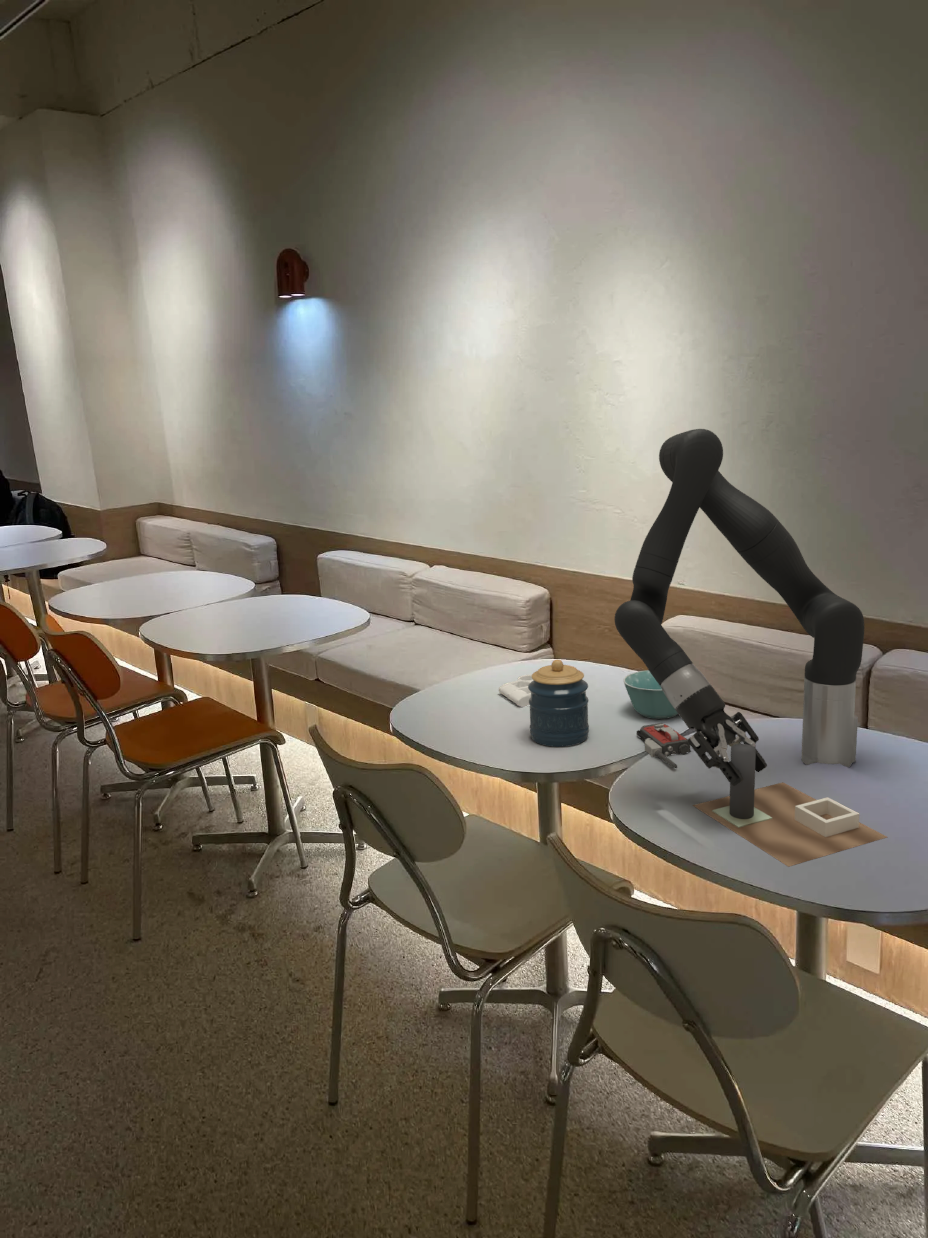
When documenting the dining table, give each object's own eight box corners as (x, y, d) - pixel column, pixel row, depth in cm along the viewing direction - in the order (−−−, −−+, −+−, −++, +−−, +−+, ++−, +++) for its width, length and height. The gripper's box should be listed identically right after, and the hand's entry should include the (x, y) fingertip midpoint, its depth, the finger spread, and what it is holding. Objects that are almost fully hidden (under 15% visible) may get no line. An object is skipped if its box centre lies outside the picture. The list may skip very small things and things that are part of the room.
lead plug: (743, 806, 156) (745, 742, 154) (758, 816, 153) (760, 750, 150) (724, 811, 155) (725, 746, 152) (739, 821, 151) (741, 754, 148)
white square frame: (827, 810, 154) (827, 797, 153) (858, 827, 147) (859, 813, 147) (794, 819, 151) (795, 806, 151) (825, 837, 145) (826, 823, 144)
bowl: (610, 715, 209) (609, 681, 207) (649, 697, 220) (649, 665, 218) (668, 729, 198) (668, 694, 196) (706, 710, 209) (706, 676, 207)
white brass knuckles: (493, 692, 231) (544, 683, 236) (524, 713, 214) (578, 703, 219) (493, 680, 230) (544, 671, 235) (523, 700, 213) (578, 690, 219)
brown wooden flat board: (782, 789, 166) (783, 781, 166) (887, 845, 144) (887, 836, 144) (692, 813, 159) (692, 804, 158) (788, 875, 137) (788, 865, 137)
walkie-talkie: (627, 739, 195) (670, 774, 176) (627, 720, 194) (670, 753, 175) (664, 733, 197) (710, 767, 178) (664, 714, 196) (711, 746, 177)
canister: (551, 752, 189) (548, 672, 185) (518, 734, 200) (515, 658, 196) (601, 739, 195) (599, 661, 191) (567, 722, 206) (565, 648, 202)
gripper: (681, 695, 149) (742, 779, 144) (728, 674, 159) (788, 753, 153) (654, 718, 155) (713, 800, 149) (702, 696, 164) (759, 773, 158)
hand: (751, 776), depth 151 cm, fingers open, 7 cm apart
